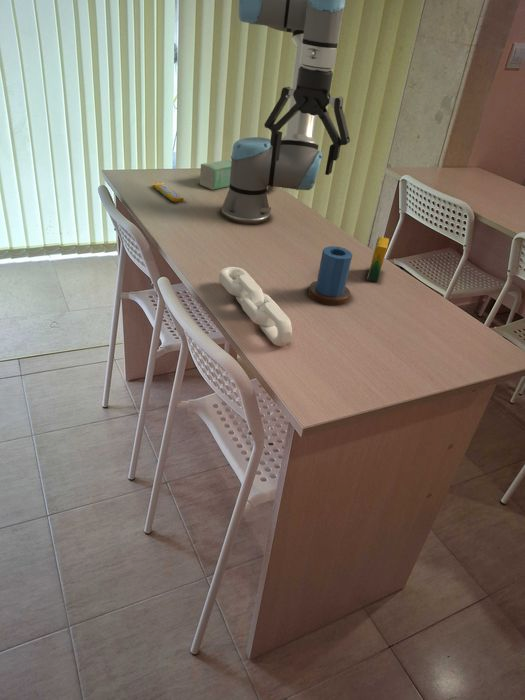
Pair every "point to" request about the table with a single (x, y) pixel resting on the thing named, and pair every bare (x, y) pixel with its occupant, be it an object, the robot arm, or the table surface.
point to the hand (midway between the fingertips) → (301, 167)
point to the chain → (257, 305)
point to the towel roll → (333, 271)
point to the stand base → (328, 299)
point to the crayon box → (378, 258)
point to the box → (215, 174)
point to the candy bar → (167, 192)
